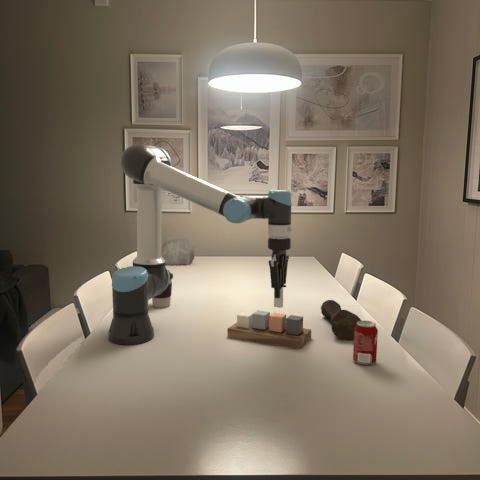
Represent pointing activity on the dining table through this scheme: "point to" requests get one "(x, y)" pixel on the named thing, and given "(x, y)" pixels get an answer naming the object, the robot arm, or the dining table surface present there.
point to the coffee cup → (163, 296)
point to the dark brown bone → (340, 320)
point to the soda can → (365, 343)
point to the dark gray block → (294, 324)
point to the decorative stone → (177, 251)
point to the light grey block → (261, 319)
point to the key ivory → (245, 320)
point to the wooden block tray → (270, 336)
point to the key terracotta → (277, 322)
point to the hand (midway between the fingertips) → (278, 306)
